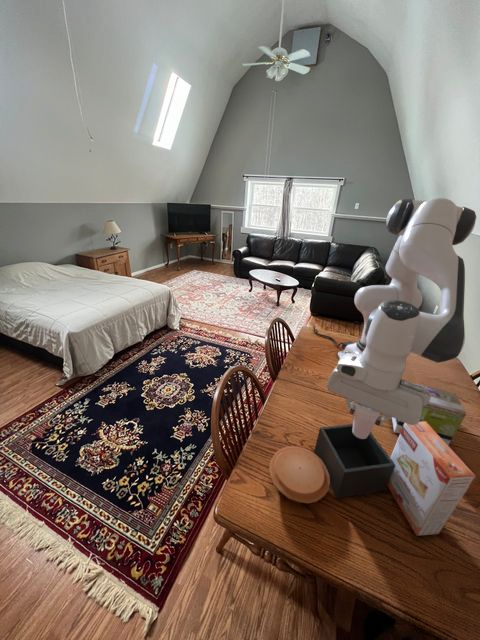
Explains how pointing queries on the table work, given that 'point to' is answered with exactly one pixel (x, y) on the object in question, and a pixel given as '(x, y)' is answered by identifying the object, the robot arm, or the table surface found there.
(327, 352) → the table surface
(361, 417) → the smoothie
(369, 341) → the robot arm
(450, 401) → the tea box
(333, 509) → the table surface
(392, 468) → the trash bin
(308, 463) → the pie
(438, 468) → the cracker box
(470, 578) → the table surface
